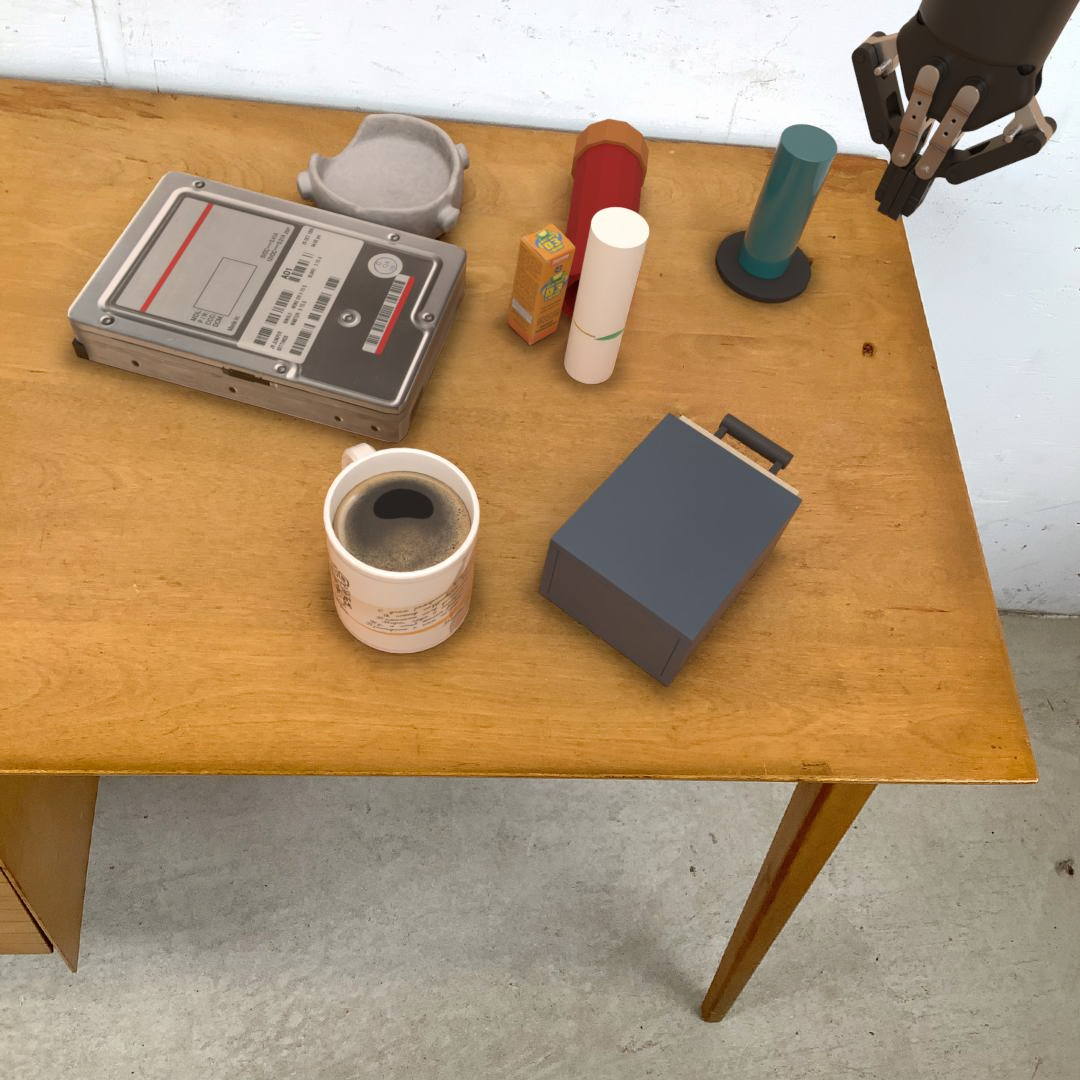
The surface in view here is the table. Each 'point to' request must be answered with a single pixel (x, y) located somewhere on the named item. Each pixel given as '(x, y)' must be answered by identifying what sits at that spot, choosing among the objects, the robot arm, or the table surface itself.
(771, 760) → the table surface
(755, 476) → the cabinet
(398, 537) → the mug
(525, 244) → the supplement box
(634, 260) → the tube
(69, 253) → the table surface
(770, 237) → the canister
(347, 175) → the dish
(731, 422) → the drawer
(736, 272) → the coaster
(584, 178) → the shell casing
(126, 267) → the hard drive
